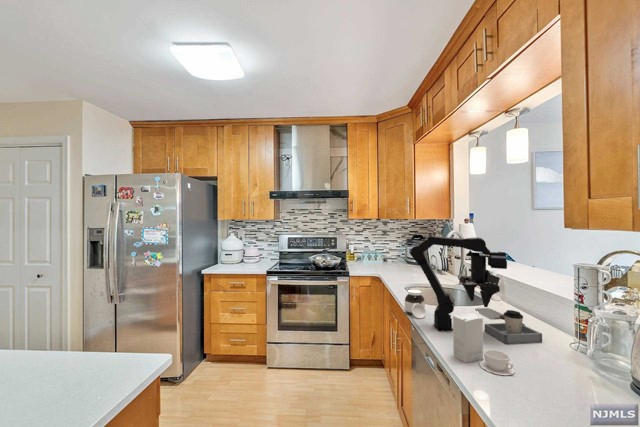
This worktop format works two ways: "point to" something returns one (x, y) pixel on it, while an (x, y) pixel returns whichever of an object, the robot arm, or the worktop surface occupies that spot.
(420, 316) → the spread jar
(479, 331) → the skincare box
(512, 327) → the coffee cup
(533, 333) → the tray
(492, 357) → the teacup
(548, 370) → the worktop surface
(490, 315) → the cleaver
